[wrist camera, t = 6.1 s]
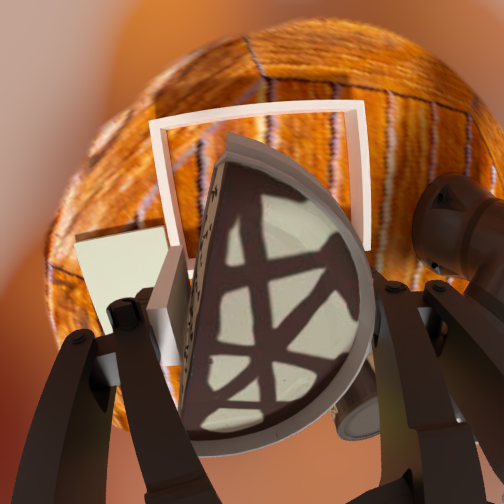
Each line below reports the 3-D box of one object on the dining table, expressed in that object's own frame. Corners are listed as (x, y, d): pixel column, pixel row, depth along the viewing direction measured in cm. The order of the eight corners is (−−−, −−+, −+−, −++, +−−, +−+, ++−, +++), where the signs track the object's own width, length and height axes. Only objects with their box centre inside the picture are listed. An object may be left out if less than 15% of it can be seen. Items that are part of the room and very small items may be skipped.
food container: (272, 341, 20) (310, 463, 11) (184, 330, 19) (174, 461, 10) (326, 163, 16) (446, 198, 7) (220, 136, 15) (232, 128, 6)
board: (164, 224, 33) (163, 226, 32) (192, 339, 39) (192, 342, 38) (76, 241, 32) (73, 243, 32) (113, 346, 38) (112, 349, 37)
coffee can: (306, 375, 43) (331, 448, 30) (312, 324, 39) (346, 402, 26) (365, 364, 44) (400, 428, 31) (378, 314, 40) (426, 380, 27)
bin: (350, 103, 30) (363, 100, 27) (358, 240, 36) (370, 250, 33) (156, 123, 29) (148, 120, 26) (182, 267, 35) (178, 280, 32)
